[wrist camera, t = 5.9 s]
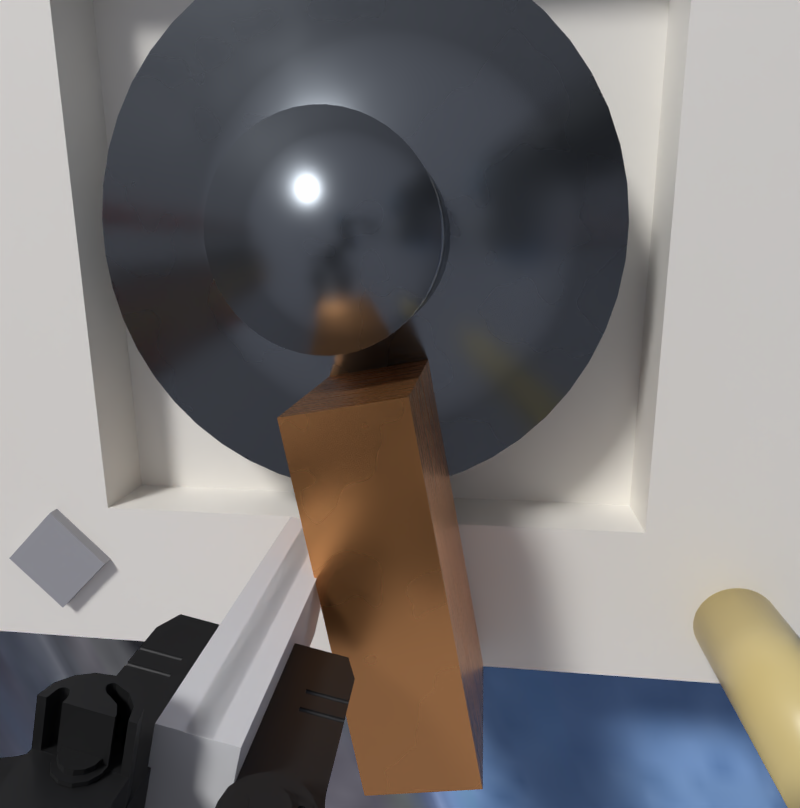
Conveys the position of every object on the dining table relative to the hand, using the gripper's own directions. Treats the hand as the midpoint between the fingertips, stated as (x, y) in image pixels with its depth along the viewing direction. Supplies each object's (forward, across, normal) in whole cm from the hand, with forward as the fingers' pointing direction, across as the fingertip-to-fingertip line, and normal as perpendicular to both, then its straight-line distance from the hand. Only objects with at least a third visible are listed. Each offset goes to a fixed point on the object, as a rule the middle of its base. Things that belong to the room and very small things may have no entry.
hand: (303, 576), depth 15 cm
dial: (+4, 0, +5) cm, 6 cm away
